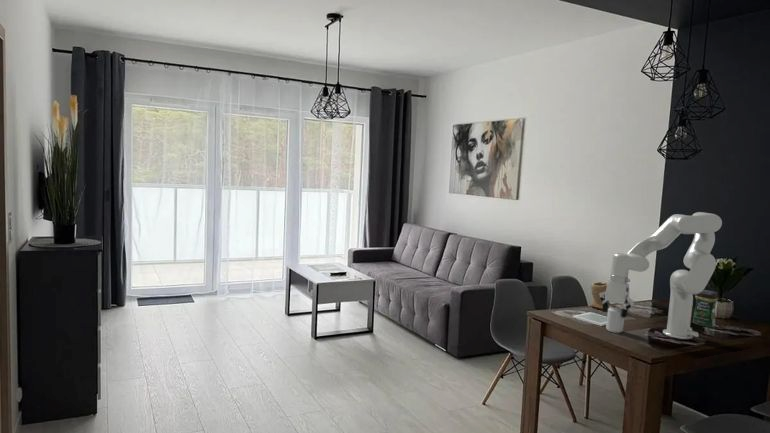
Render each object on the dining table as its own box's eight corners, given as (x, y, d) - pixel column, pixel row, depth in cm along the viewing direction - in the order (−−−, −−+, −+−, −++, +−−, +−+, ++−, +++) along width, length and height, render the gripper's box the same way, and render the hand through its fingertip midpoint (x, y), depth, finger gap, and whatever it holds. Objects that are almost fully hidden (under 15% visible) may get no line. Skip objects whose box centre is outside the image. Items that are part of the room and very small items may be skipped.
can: (619, 329, 259) (622, 305, 258) (625, 334, 252) (627, 309, 251) (603, 328, 260) (606, 304, 259) (608, 332, 253) (611, 308, 252)
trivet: (618, 321, 273) (618, 319, 273) (601, 326, 264) (601, 323, 264) (590, 314, 286) (590, 312, 286) (572, 317, 276) (573, 315, 276)
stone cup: (584, 306, 302) (586, 280, 300) (597, 304, 308) (599, 279, 307) (608, 313, 289) (610, 286, 288) (621, 311, 296) (623, 285, 294)
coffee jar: (689, 323, 278) (693, 288, 276) (696, 321, 283) (700, 287, 281) (710, 328, 270) (714, 292, 268) (716, 326, 275) (720, 291, 273)
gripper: (640, 283, 249) (635, 318, 251) (606, 275, 263) (601, 308, 264) (632, 284, 245) (627, 320, 246) (597, 275, 258) (593, 310, 260)
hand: (614, 314), depth 255 cm, fingers open, 9 cm apart
